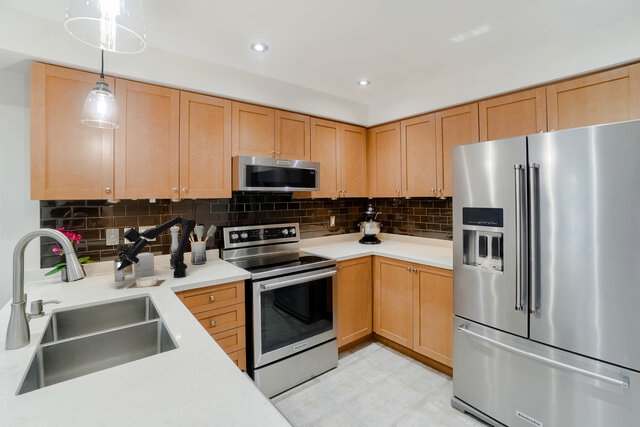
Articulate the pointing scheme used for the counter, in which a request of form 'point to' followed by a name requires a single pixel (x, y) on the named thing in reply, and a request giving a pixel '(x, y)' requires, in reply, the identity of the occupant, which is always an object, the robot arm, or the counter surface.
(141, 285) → the ceramic ring
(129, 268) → the skincare box
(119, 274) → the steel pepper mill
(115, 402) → the counter surface
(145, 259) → the supplement box
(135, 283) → the walnut board
